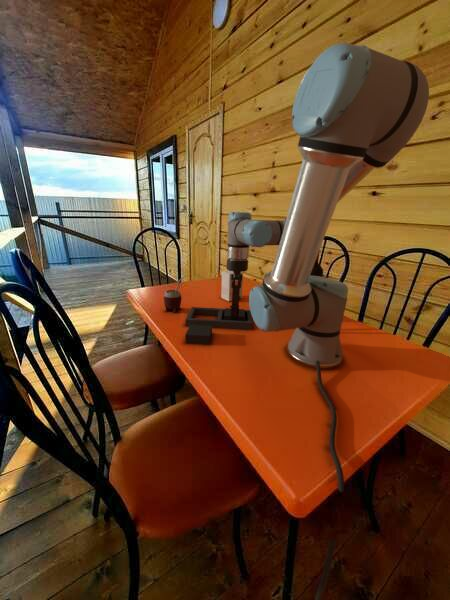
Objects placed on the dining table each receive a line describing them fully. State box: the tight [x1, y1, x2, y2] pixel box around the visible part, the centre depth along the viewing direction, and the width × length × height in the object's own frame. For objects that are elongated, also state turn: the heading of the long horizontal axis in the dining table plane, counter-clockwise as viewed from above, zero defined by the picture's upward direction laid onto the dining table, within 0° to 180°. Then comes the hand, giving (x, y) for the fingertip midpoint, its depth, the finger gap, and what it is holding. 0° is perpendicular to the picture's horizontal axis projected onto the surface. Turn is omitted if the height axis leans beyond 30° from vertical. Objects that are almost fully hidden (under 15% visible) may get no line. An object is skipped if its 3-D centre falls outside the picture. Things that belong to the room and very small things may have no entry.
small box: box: [220, 270, 244, 302], centre depth 120 cm, size 8×6×13 cm
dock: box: [185, 306, 253, 331], centre depth 96 cm, size 13×24×2 cm, turn 87°
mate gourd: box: [163, 275, 187, 314], centre depth 102 cm, size 8×8×15 cm
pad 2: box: [223, 307, 246, 321], centre depth 96 cm, size 8×8×3 cm
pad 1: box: [185, 325, 213, 346], centre depth 82 cm, size 8×8×3 cm
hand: (234, 318), depth 96 cm, fingers closed on pad 2, 7 cm apart
